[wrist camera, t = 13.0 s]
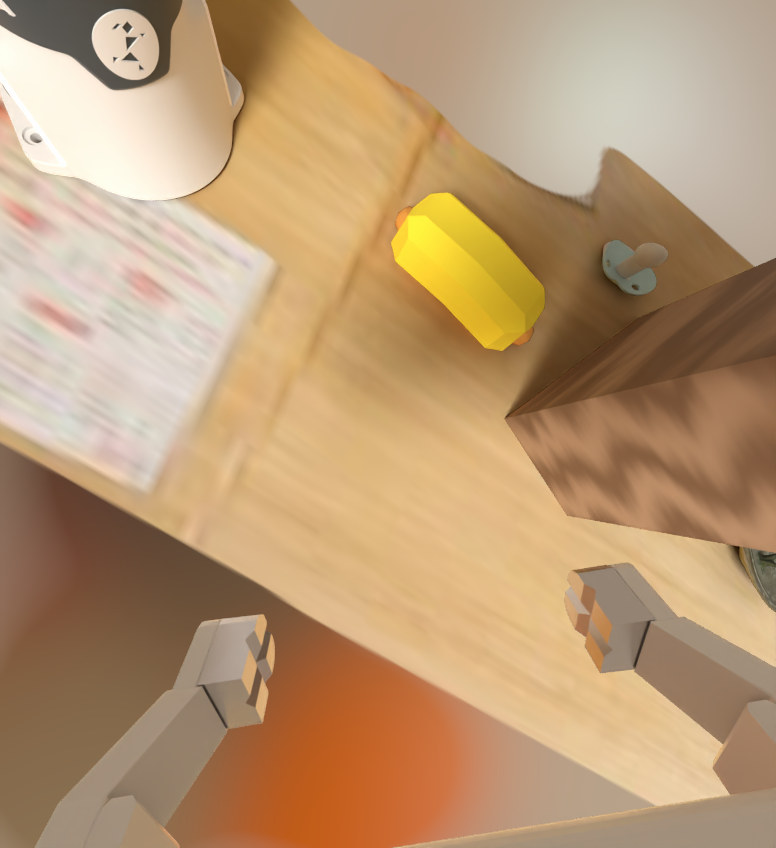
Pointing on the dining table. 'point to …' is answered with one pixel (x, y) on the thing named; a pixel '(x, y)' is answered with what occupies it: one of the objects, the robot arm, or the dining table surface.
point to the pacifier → (633, 265)
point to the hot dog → (469, 270)
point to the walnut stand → (671, 420)
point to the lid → (761, 572)
